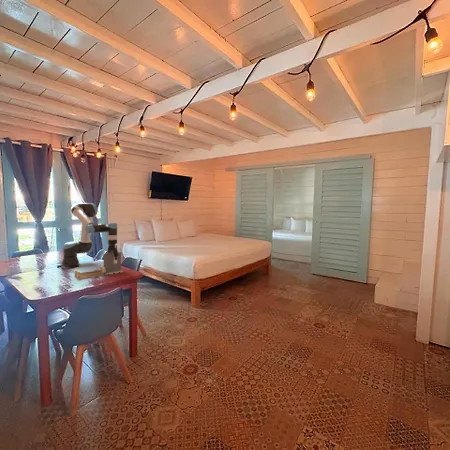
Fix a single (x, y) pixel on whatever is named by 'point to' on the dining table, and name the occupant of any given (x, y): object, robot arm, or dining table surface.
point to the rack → (90, 273)
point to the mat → (113, 272)
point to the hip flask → (112, 262)
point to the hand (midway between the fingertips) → (112, 261)
